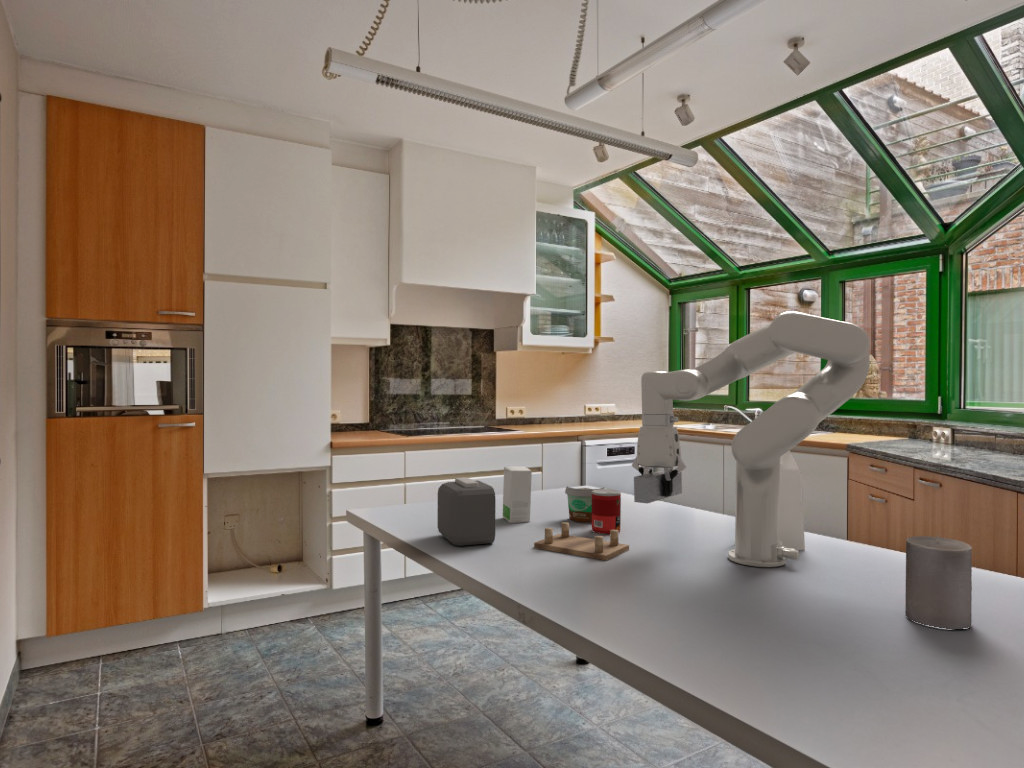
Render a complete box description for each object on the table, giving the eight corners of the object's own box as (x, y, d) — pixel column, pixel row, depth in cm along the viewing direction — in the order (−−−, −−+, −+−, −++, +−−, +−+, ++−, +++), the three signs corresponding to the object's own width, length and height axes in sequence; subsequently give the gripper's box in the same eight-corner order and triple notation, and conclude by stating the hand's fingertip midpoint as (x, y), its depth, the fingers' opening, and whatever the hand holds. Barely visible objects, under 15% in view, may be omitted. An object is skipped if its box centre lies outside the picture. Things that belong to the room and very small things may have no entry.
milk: (789, 539, 172) (790, 440, 172) (804, 550, 161) (805, 444, 161) (743, 537, 173) (743, 440, 173) (754, 548, 162) (755, 444, 162)
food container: (560, 522, 191) (560, 488, 191) (565, 518, 197) (565, 485, 197) (602, 525, 188) (602, 490, 188) (605, 520, 194) (606, 487, 193)
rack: (629, 549, 160) (629, 530, 160) (606, 560, 150) (606, 540, 150) (559, 538, 172) (559, 520, 172) (534, 547, 162) (534, 528, 162)
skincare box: (502, 517, 197) (502, 466, 197) (522, 516, 199) (523, 465, 199) (510, 523, 189) (510, 469, 189) (531, 522, 191) (532, 469, 191)
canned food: (622, 534, 176) (622, 493, 176) (592, 534, 177) (593, 493, 177) (618, 528, 184) (618, 489, 184) (590, 527, 184) (590, 488, 184)
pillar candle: (910, 607, 120) (909, 526, 120) (974, 619, 114) (974, 533, 114) (900, 622, 113) (900, 536, 112) (969, 636, 106) (969, 545, 106)
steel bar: (669, 492, 169) (668, 468, 169) (681, 493, 167) (681, 469, 167) (634, 502, 155) (633, 476, 155) (647, 503, 153) (647, 477, 153)
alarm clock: (495, 545, 164) (495, 483, 164) (451, 549, 160) (452, 486, 160) (474, 531, 179) (475, 474, 179) (434, 534, 175) (434, 476, 175)
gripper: (695, 421, 159) (697, 496, 159) (632, 420, 169) (634, 490, 169) (684, 422, 153) (686, 500, 153) (620, 421, 163) (621, 495, 163)
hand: (659, 494), depth 161 cm, fingers closed on steel bar, 3 cm apart
